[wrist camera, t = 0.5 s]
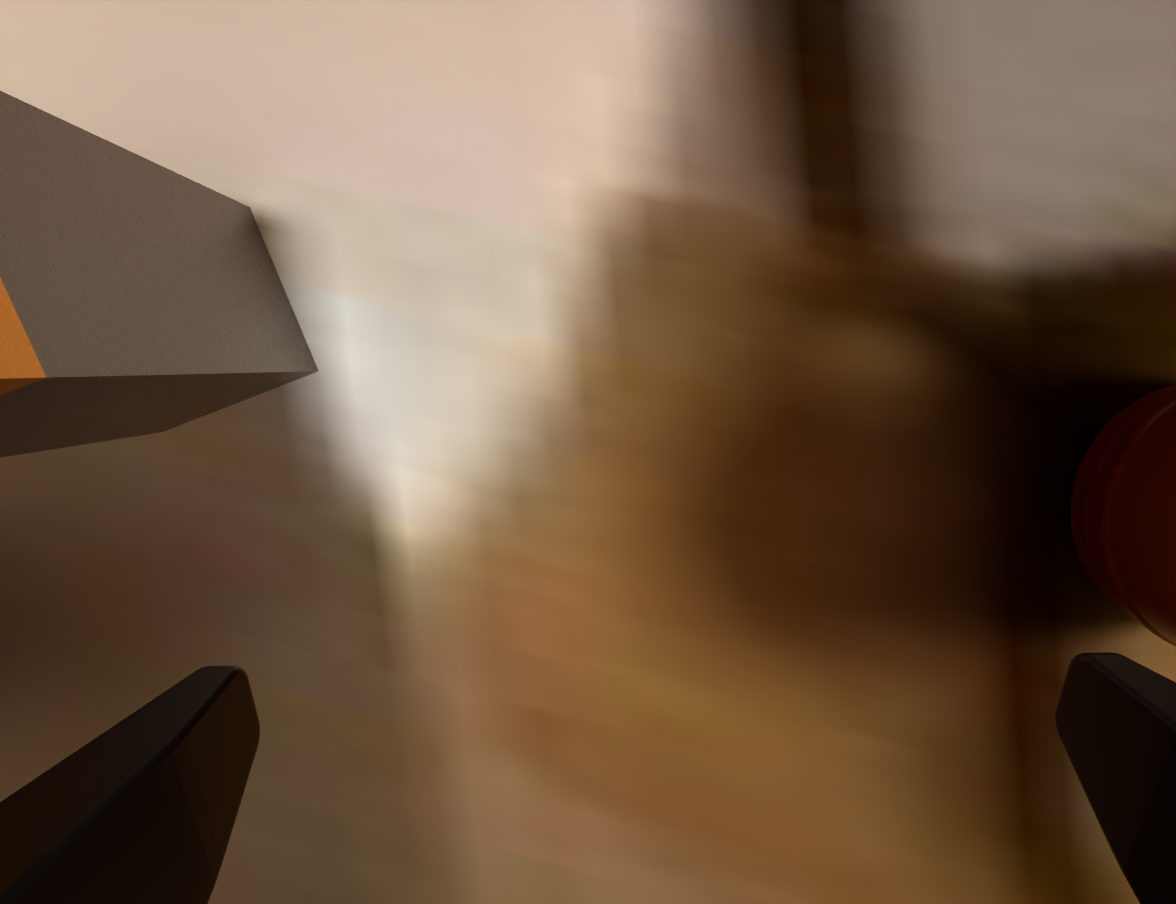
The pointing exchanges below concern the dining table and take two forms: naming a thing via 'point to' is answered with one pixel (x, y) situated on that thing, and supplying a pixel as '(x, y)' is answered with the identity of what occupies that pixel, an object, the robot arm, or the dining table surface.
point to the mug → (1132, 511)
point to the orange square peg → (125, 293)
